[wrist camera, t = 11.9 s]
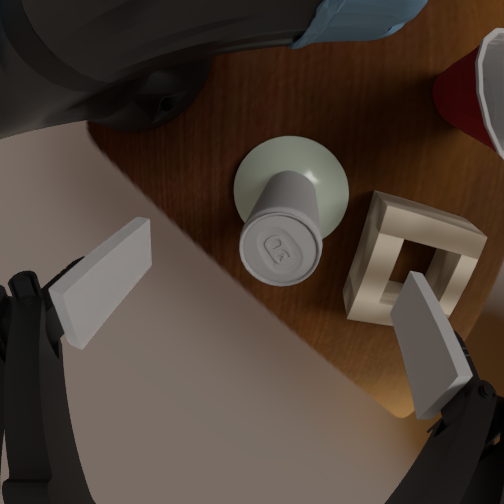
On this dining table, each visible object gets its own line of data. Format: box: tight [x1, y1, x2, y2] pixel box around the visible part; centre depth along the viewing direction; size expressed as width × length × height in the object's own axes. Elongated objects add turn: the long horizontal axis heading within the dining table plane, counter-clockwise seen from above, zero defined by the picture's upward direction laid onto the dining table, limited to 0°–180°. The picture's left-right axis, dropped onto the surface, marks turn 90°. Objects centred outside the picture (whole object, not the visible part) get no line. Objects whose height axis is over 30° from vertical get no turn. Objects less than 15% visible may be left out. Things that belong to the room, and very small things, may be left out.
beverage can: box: [239, 170, 322, 286], centre depth 21 cm, size 5×5×12 cm
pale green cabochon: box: [234, 136, 349, 239], centre depth 26 cm, size 11×11×1 cm
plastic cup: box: [432, 28, 504, 160], centre depth 14 cm, size 11×11×12 cm
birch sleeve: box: [343, 190, 487, 326], centre depth 25 cm, size 12×12×5 cm
